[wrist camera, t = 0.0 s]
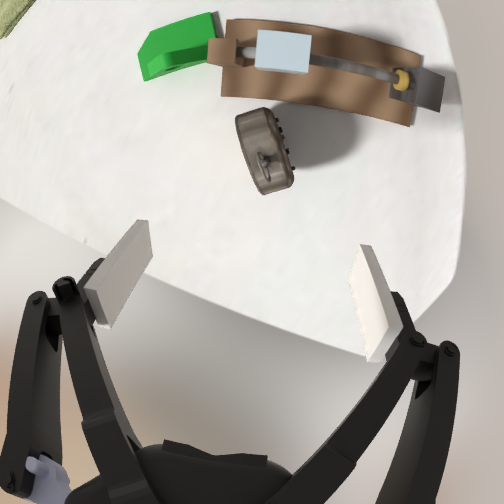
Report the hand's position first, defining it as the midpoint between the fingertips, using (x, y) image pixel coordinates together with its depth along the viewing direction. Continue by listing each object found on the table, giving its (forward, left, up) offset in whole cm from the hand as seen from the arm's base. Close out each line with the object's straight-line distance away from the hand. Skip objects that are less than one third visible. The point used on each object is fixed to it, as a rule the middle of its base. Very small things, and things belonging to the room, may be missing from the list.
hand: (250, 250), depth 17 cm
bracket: (-15, -15, -29) cm, 36 cm away
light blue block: (-13, +1, -21) cm, 25 cm away
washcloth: (-37, -53, -29) cm, 71 cm away
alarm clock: (-1, 0, -28) cm, 28 cm away
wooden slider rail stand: (-13, +7, -28) cm, 32 cm away
